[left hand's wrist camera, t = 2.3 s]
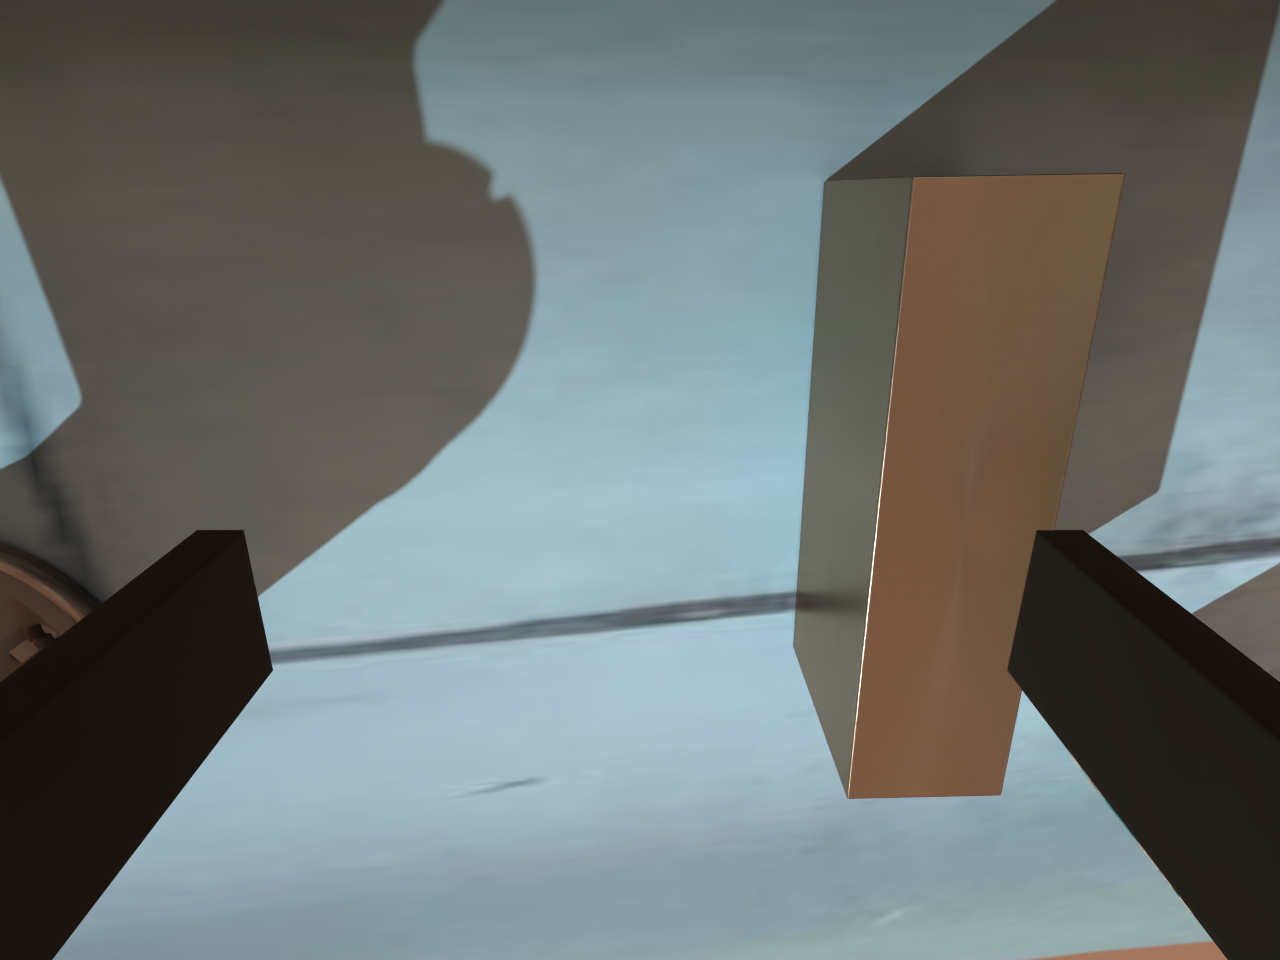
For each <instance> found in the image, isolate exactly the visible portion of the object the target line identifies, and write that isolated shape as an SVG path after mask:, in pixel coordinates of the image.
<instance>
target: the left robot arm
mask: <svg viewBox="0 0 1280 960" xmlns="http://www.w3.org/2000/svg"><path fill="white" fill-rule="evenodd" d="M272 671H273V668H272V663H271V659H270V654H269V649H268V644H267V640H266V635H265V630H264V625H263V621H262V616H261V611H260V606H259V602H258V597H257V592H256V587H255V582H254V578H253V573H252V568H251V563H250V559H249V554H248V549H247V544H246V540H245V535H244V530H197V531H196V532H194V533H193V534H192V535H190V536H189V537H188V538H186V539H185V540H184V541H183V542H181V543H180V544H179V545H177V546H176V547H175V548H173V549H172V550H171V551H170V552H168V553H167V554H166V555H164V556H163V557H162V558H160V559H159V560H158V561H157V562H155V563H154V564H153V565H151V566H150V567H149V568H148V569H146V570H145V571H144V572H142V573H141V574H140V575H138V576H137V577H136V578H135V579H133V580H132V581H131V582H129V583H128V584H127V585H125V586H124V587H123V588H122V589H120V590H119V591H118V592H116V593H115V594H114V595H113V596H111V597H110V598H109V599H107V600H106V601H105V602H103V603H102V604H101V605H100V606H99V605H98V604H97V603H96V602H95V601H94V600H93V599H92V598H91V597H90V596H89V595H88V594H87V593H86V592H85V591H84V590H83V589H82V588H80V587H79V586H78V585H77V584H75V583H74V582H73V581H72V580H70V579H69V578H68V577H66V576H65V575H63V574H62V573H60V572H59V571H57V570H56V569H54V568H53V567H51V566H49V565H48V564H46V563H44V562H42V561H41V560H39V559H37V558H35V557H33V556H31V555H29V554H27V553H25V552H22V551H20V550H17V549H15V548H12V547H10V546H7V545H4V544H1V543H0V960H52V959H53V958H54V957H55V955H56V954H57V953H58V951H59V950H60V949H61V948H62V946H63V945H64V944H65V942H66V941H67V940H68V938H69V937H70V936H71V934H72V933H73V932H74V930H75V929H76V928H77V927H78V925H79V924H80V923H81V921H82V920H83V919H84V917H85V916H86V915H87V913H88V912H89V911H90V909H91V908H92V907H93V906H94V904H95V903H96V902H97V900H98V899H99V898H100V896H101V895H102V894H103V892H104V891H105V890H106V889H107V887H108V886H109V885H110V883H111V882H112V881H113V879H114V878H115V877H116V875H117V874H118V873H119V871H120V870H121V869H122V868H123V866H124V865H125V864H126V862H127V861H128V860H129V858H130V857H131V856H132V854H133V853H134V852H135V850H136V849H137V848H138V847H139V845H140V844H141V843H142V841H143V840H144V839H145V837H146V836H147V835H148V833H149V832H150V831H151V829H152V828H153V827H154V826H155V824H156V823H157V822H158V820H159V819H160V818H161V816H162V815H163V814H164V812H165V811H166V810H167V809H168V807H169V806H170V805H171V803H172V802H173V801H174V799H175V798H176V797H177V795H178V794H179V793H180V791H181V790H182V789H183V788H184V786H185V785H186V784H187V782H188V781H189V780H190V778H191V777H192V776H193V774H194V773H195V772H196V770H197V769H198V768H199V767H200V765H201V764H202V763H203V761H204V760H205V759H206V757H207V756H208V755H209V753H210V752H211V751H212V749H213V748H214V747H215V746H216V744H217V743H218V742H219V740H220V739H221V738H222V736H223V735H224V734H225V732H226V731H227V730H228V728H229V727H230V726H231V725H232V723H233V722H234V721H235V719H236V718H237V717H238V715H239V714H240V713H241V711H242V710H243V709H244V708H245V706H246V705H247V704H248V702H249V701H250V700H251V698H252V697H253V696H254V694H255V693H256V692H257V690H258V689H259V688H260V687H261V685H262V684H263V683H264V681H265V680H266V679H267V677H268V676H269V675H270V673H271V672H272ZM1007 671H1008V672H1009V673H1010V675H1011V676H1012V677H1013V679H1014V680H1015V681H1016V683H1017V684H1018V685H1019V687H1020V688H1021V689H1022V690H1023V692H1024V693H1025V694H1026V696H1027V697H1028V698H1029V700H1030V701H1031V702H1032V704H1033V705H1034V706H1035V708H1036V709H1037V710H1038V711H1039V713H1040V714H1041V715H1042V717H1043V718H1044V719H1045V721H1046V722H1047V723H1048V725H1049V726H1050V727H1051V728H1052V730H1053V731H1054V732H1055V734H1056V735H1057V736H1058V738H1059V739H1060V740H1061V742H1062V743H1063V744H1064V746H1065V747H1066V748H1067V749H1068V751H1069V752H1070V753H1071V755H1072V756H1073V757H1074V759H1075V760H1076V761H1077V763H1078V764H1079V765H1080V767H1081V768H1082V769H1083V770H1084V772H1085V773H1086V774H1087V776H1088V777H1089V778H1090V780H1091V781H1092V782H1093V784H1094V785H1095V786H1096V788H1097V789H1098V790H1099V791H1100V793H1101V794H1102V795H1103V797H1104V798H1105V799H1106V801H1107V802H1108V803H1109V805H1110V806H1111V807H1112V809H1113V810H1114V811H1115V812H1116V814H1117V815H1118V816H1119V818H1120V819H1121V820H1122V822H1123V823H1124V824H1125V826H1126V827H1127V828H1128V829H1129V831H1130V832H1131V833H1132V835H1133V836H1134V837H1135V839H1136V840H1137V841H1138V843H1139V844H1140V845H1141V847H1142V848H1143V849H1144V850H1145V852H1146V853H1147V854H1148V856H1149V857H1150V858H1151V860H1152V861H1153V862H1154V864H1155V865H1156V866H1157V868H1158V869H1159V870H1160V871H1161V873H1162V874H1163V875H1164V877H1165V878H1166V879H1167V881H1168V882H1169V883H1170V885H1171V886H1172V887H1173V889H1174V890H1175V891H1176V892H1177V894H1178V895H1179V896H1180V898H1181V899H1182V900H1183V902H1184V903H1185V904H1186V906H1187V907H1188V908H1189V909H1190V911H1191V912H1192V913H1193V915H1194V916H1195V917H1196V919H1197V920H1198V921H1199V923H1200V924H1201V925H1202V927H1203V928H1204V929H1205V930H1206V932H1207V933H1208V934H1209V936H1210V937H1211V938H1212V940H1213V941H1214V942H1215V944H1216V945H1217V946H1218V948H1219V949H1220V950H1221V951H1222V953H1223V954H1224V955H1225V957H1226V958H1227V959H1228V960H1280V682H1279V681H1278V680H1276V679H1275V678H1274V677H1273V676H1271V675H1270V674H1269V673H1267V672H1266V671H1265V670H1263V669H1262V668H1261V667H1260V666H1258V665H1257V664H1256V663H1254V662H1253V661H1252V660H1250V659H1249V658H1248V657H1247V656H1245V655H1244V654H1243V653H1241V652H1240V651H1239V650H1238V649H1236V648H1235V647H1234V646H1232V645H1231V644H1230V643H1228V642H1227V641H1226V640H1225V639H1223V638H1222V637H1221V636H1219V635H1218V634H1217V633H1215V632H1214V631H1213V630H1212V629H1210V628H1209V627H1208V626H1206V625H1205V624H1204V623H1203V622H1201V621H1200V620H1199V619H1197V618H1196V617H1195V616H1193V615H1192V614H1191V613H1190V612H1188V611H1187V610H1186V609H1184V608H1183V607H1182V606H1180V605H1179V604H1178V603H1177V602H1175V601H1174V600H1173V599H1171V598H1170V597H1169V596H1167V595H1166V594H1165V593H1164V592H1162V591H1161V590H1160V589H1158V588H1157V587H1156V586H1155V585H1153V584H1152V583H1151V582H1149V581H1148V580H1147V579H1145V578H1144V577H1143V576H1142V575H1140V574H1139V573H1138V572H1136V571H1135V570H1134V569H1132V568H1131V567H1130V566H1129V565H1127V564H1126V563H1125V562H1123V561H1122V560H1121V559H1120V558H1118V557H1117V556H1116V555H1114V554H1113V553H1112V552H1110V551H1109V550H1108V549H1107V548H1105V547H1104V546H1103V545H1101V544H1100V543H1099V542H1097V541H1096V540H1095V539H1094V538H1092V537H1091V536H1090V535H1088V534H1087V533H1086V532H1084V531H1083V530H1036V535H1035V540H1034V544H1033V549H1032V554H1031V559H1030V563H1029V568H1028V573H1027V578H1026V582H1025V587H1024V592H1023V597H1022V602H1021V606H1020V611H1019V616H1018V621H1017V625H1016V630H1015V635H1014V640H1013V644H1012V649H1011V654H1010V659H1009V663H1008V668H1007Z"/></svg>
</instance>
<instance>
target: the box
mask: <svg viewBox="0 0 1280 960" xmlns="http://www.w3.org/2000/svg"><path fill="white" fill-rule="evenodd" d="M1124 178H1125V174H1123V173H1102V174H1046V175H989V176H933V177H900V178H878V179H855V180H833V181H825V182H824V193H823V208H822V223H821V238H820V253H819V268H818V283H817V298H816V313H815V328H814V343H813V358H812V373H811V388H810V403H809V418H808V433H807V448H806V463H805V478H804V492H803V507H802V522H801V537H800V552H799V567H798V582H797V597H796V612H795V627H794V642H793V648H794V650H795V653H796V656H797V659H798V662H799V664H800V667H801V670H802V673H803V676H804V679H805V681H806V684H807V687H808V690H809V693H810V695H811V698H812V701H813V704H814V707H815V709H816V712H817V715H818V718H819V721H820V723H821V726H822V729H823V732H824V735H825V737H826V740H827V743H828V746H829V749H830V751H831V754H832V757H833V760H834V763H835V766H836V768H837V771H838V774H839V777H840V780H841V782H842V785H843V788H844V791H845V794H846V796H847V798H848V799H856V798H902V797H947V796H992V795H1001V792H1002V787H1003V782H1004V777H1005V772H1006V767H1007V762H1008V757H1009V752H1010V747H1011V742H1012V737H1013V732H1014V727H1015V722H1016V717H1017V712H1018V707H1019V702H1020V697H1021V692H1022V689H1021V688H1020V687H1019V685H1018V684H1017V683H1016V681H1015V680H1014V679H1013V677H1012V676H1011V675H1010V673H1009V672H1008V671H1007V668H1008V663H1009V659H1010V654H1011V649H1012V644H1013V640H1014V635H1015V630H1016V625H1017V621H1018V616H1019V611H1020V606H1021V602H1022V597H1023V592H1024V587H1025V582H1026V578H1027V573H1028V568H1029V563H1030V559H1031V554H1032V549H1033V544H1034V540H1035V535H1036V530H1054V528H1055V523H1056V518H1057V513H1058V508H1059V503H1060V498H1061V493H1062V488H1063V483H1064V478H1065V473H1066V468H1067V463H1068V458H1069V453H1070V448H1071V443H1072V438H1073V433H1074V428H1075V423H1076V418H1077V413H1078V408H1079V403H1080V398H1081V393H1082V388H1083V383H1084V378H1085V373H1086V368H1087V363H1088V358H1089V353H1090V348H1091V343H1092V338H1093V333H1094V328H1095V323H1096V318H1097V313H1098V308H1099V303H1100V298H1101V293H1102V288H1103V283H1104V278H1105V273H1106V268H1107V263H1108V258H1109V253H1110V248H1111V243H1112V238H1113V233H1114V228H1115V223H1116V218H1117V213H1118V208H1119V203H1120V198H1121V193H1122V188H1123V183H1124Z"/></svg>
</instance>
